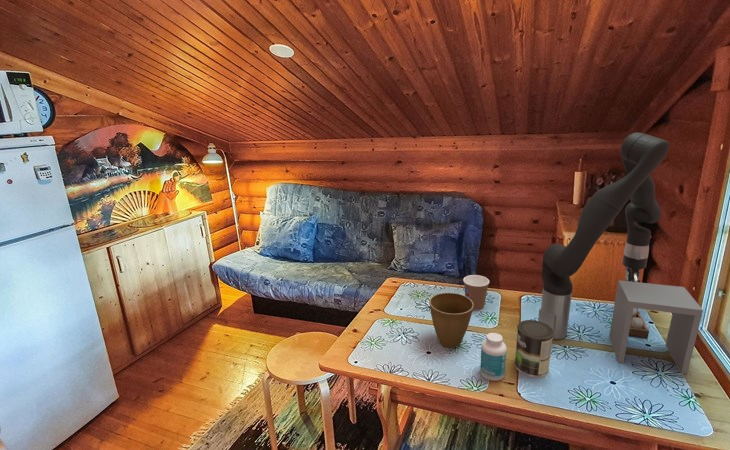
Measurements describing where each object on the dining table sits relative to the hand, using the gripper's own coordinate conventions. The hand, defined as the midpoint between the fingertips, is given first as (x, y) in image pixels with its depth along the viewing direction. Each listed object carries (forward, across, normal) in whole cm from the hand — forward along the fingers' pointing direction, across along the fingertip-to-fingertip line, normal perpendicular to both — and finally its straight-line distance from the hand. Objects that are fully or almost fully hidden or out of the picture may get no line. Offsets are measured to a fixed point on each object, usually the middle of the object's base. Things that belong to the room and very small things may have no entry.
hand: (629, 295), depth 150 cm
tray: (+6, +13, 0) cm, 14 cm away
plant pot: (+6, +43, -61) cm, 75 cm away
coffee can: (+6, +48, -35) cm, 60 cm away
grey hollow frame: (+6, +30, 0) cm, 30 cm away
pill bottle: (+6, +56, -46) cm, 73 cm away
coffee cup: (+6, +15, -56) cm, 59 cm away
